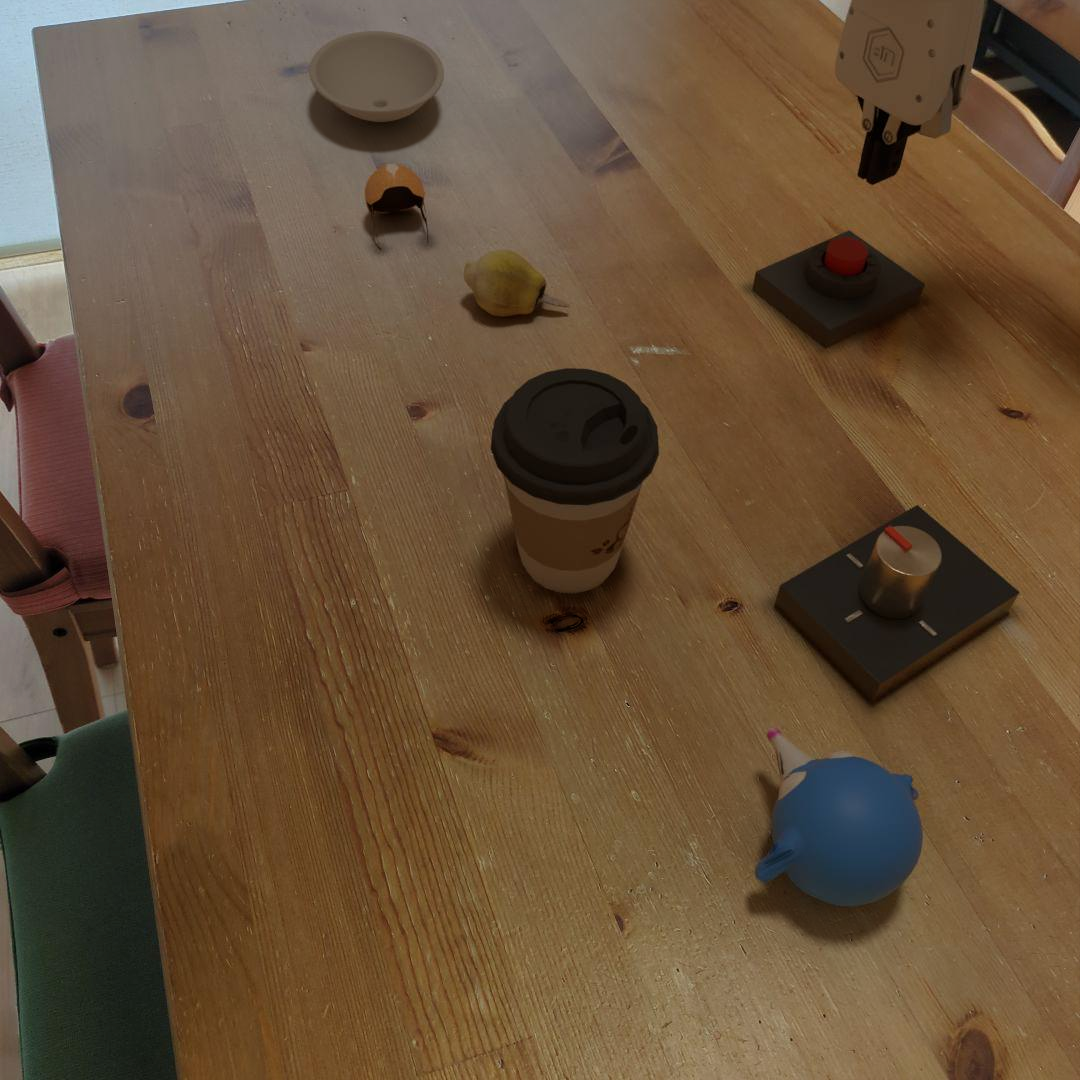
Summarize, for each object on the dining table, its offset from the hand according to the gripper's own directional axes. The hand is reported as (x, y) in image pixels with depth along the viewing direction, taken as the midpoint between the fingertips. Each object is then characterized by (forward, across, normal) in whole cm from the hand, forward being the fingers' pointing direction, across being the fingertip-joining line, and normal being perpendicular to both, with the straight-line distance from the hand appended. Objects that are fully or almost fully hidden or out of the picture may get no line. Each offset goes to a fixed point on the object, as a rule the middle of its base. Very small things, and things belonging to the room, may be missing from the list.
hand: (876, 175), depth 95 cm
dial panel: (+13, +28, -22) cm, 38 cm away
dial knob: (+11, +28, -23) cm, 38 cm away
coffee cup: (+13, +11, -40) cm, 43 cm away
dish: (+12, -53, -21) cm, 58 cm away
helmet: (+12, -33, -30) cm, 46 cm away
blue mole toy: (+13, +38, -40) cm, 56 cm away
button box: (+13, -1, -1) cm, 13 cm away
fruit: (+12, -16, -27) cm, 33 cm away
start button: (+9, -1, -1) cm, 9 cm away
